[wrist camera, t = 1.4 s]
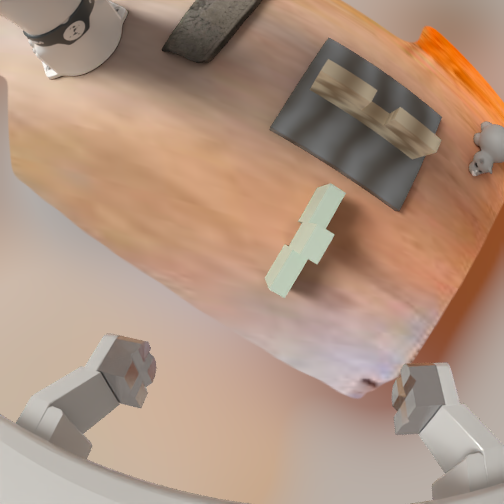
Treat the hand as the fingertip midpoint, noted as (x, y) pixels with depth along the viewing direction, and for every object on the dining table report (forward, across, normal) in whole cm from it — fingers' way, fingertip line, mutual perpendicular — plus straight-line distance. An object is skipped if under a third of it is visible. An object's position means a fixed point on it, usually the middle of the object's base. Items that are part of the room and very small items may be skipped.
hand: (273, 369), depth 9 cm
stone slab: (+54, +13, -22) cm, 60 cm away
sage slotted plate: (+37, 0, +16) cm, 40 cm away
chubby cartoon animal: (+52, -35, +3) cm, 62 cm away
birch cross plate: (+47, -10, 0) cm, 48 cm away
